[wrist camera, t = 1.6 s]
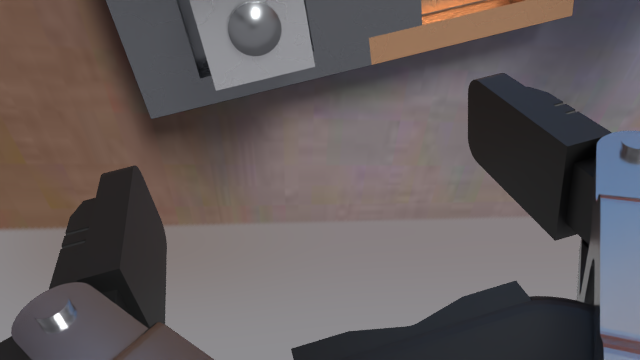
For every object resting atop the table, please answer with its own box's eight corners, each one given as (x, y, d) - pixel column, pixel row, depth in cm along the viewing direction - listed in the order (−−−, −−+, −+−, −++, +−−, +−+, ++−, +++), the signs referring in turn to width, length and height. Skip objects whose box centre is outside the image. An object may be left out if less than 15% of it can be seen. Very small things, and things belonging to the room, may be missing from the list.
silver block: (208, 51, 27) (216, 92, 22) (182, -39, 24) (184, -14, 20) (291, 32, 27) (316, 68, 23) (274, -59, 25) (298, -39, 20)
